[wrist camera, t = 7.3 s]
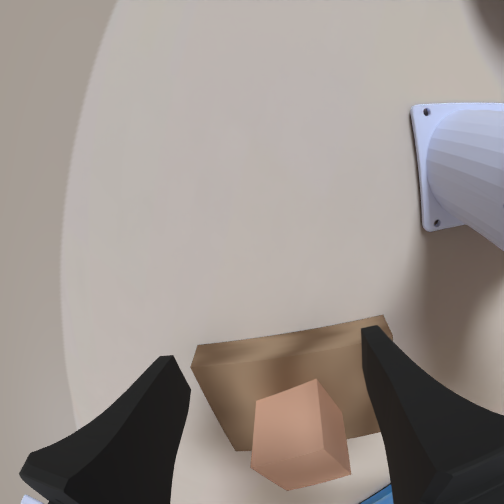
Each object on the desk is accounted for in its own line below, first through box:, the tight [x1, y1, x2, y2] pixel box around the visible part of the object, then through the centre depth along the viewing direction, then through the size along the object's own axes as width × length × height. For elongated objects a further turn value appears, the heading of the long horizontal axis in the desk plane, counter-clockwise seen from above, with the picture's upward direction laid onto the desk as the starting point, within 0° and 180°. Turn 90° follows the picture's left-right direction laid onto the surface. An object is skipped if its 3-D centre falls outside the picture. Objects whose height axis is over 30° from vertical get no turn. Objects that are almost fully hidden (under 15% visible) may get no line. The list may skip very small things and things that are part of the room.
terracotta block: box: [251, 379, 351, 491], centre depth 19 cm, size 5×5×6 cm
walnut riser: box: [191, 315, 393, 451], centre depth 23 cm, size 14×12×2 cm
